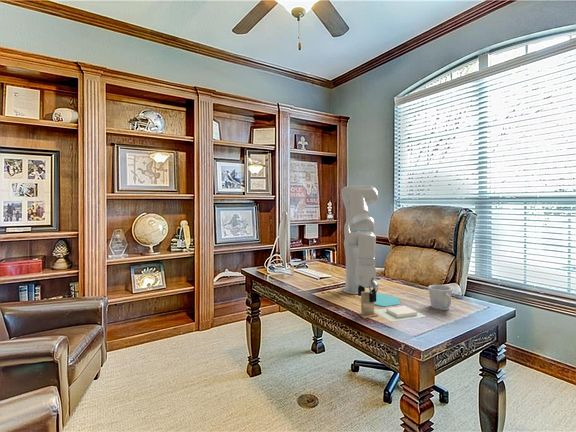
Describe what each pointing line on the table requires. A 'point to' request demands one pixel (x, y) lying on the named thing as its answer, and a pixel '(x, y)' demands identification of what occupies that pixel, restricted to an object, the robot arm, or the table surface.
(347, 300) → the table surface
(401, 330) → the table surface
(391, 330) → the table surface
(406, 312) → the tile
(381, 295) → the plaque
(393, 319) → the board
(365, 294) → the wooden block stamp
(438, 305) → the mug
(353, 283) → the robot arm
